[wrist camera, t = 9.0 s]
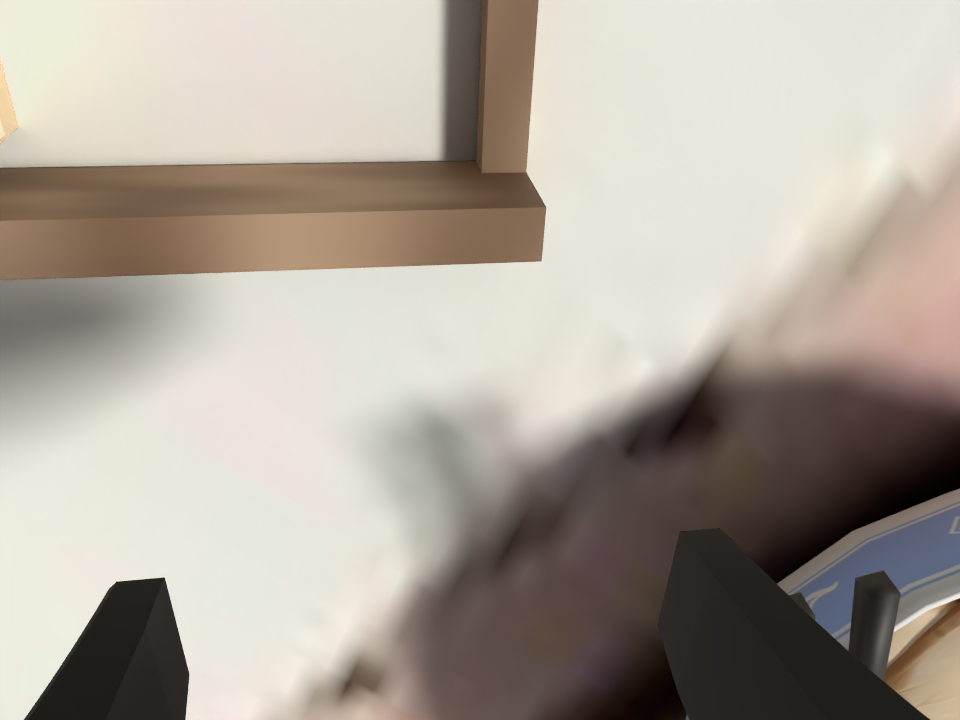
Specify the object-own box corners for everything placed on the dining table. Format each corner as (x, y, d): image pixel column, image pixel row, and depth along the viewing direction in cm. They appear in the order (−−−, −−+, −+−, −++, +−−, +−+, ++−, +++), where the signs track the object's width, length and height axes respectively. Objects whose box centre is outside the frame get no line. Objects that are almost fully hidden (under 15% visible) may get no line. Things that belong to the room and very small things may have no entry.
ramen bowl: (1096, 707, 37) (1266, 901, 30) (620, 834, 37) (685, 1059, 30) (1303, 221, 23) (1706, 381, 16) (535, 418, 23) (622, 666, 16)
